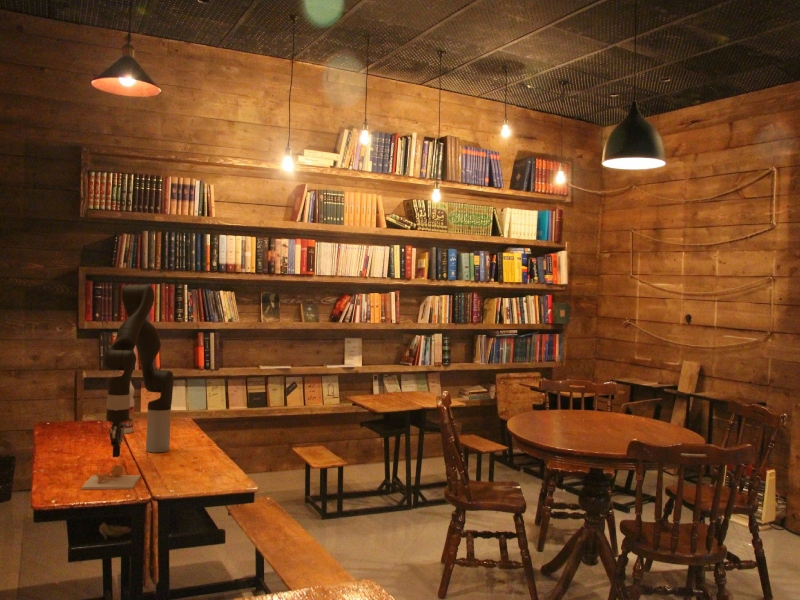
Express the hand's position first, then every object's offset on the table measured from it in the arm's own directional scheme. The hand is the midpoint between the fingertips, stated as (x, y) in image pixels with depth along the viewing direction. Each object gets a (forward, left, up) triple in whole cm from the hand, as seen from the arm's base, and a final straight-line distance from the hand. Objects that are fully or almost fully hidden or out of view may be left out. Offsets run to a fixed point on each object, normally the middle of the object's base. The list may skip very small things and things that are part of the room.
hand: (116, 456), depth 249 cm
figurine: (-1, +2, -3) cm, 4 cm away
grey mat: (+6, 0, -8) cm, 10 cm away
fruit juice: (-85, -13, -8) cm, 87 cm away
